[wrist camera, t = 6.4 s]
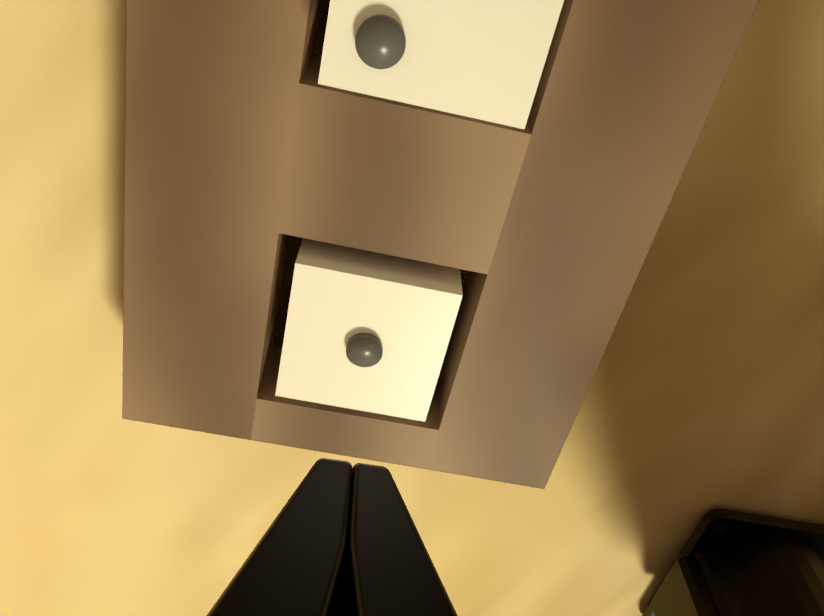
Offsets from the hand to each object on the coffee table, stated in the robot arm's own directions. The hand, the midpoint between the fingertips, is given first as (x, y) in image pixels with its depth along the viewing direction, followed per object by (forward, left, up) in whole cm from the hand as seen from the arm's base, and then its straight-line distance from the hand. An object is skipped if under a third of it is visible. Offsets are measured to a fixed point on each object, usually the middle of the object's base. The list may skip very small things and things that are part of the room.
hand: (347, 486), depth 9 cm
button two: (0, -5, -10) cm, 11 cm away
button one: (0, +4, -11) cm, 12 cm away
